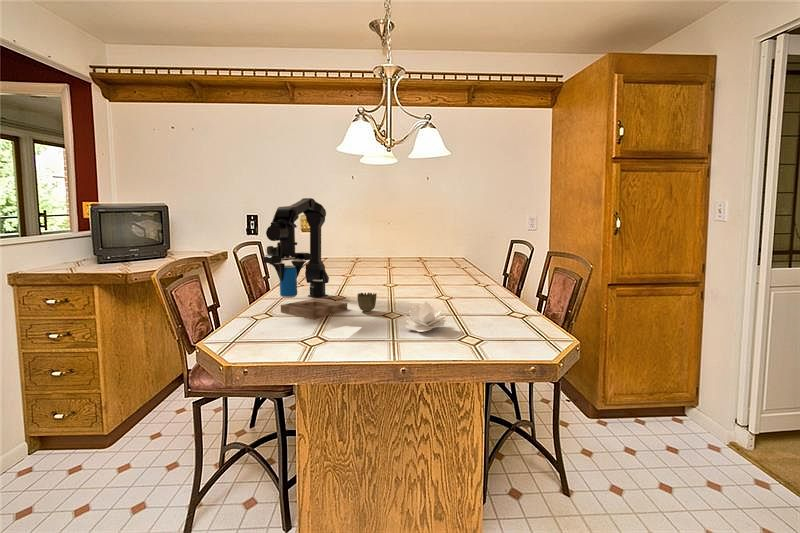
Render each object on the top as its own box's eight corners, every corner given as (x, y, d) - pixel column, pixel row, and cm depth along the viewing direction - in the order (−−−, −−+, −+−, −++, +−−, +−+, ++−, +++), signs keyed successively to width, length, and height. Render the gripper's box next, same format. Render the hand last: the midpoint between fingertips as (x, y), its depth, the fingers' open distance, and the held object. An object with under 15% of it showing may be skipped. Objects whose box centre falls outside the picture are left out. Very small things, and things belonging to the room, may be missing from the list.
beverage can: (294, 298, 169) (293, 267, 168) (278, 298, 169) (277, 267, 168) (299, 295, 175) (298, 265, 174) (283, 295, 176) (282, 265, 174)
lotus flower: (397, 331, 144) (397, 305, 143) (410, 321, 158) (411, 297, 157) (440, 335, 139) (440, 308, 138) (450, 324, 153) (450, 300, 153)
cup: (373, 316, 165) (373, 295, 164) (354, 315, 167) (354, 295, 166) (378, 312, 173) (378, 292, 172) (360, 311, 174) (360, 291, 173)
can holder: (315, 306, 185) (315, 298, 184) (347, 311, 174) (347, 303, 174) (280, 313, 170) (280, 304, 170) (313, 320, 160) (313, 310, 159)
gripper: (293, 238, 182) (294, 275, 184) (253, 240, 167) (255, 280, 169) (311, 239, 176) (312, 278, 177) (272, 241, 161) (273, 283, 162)
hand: (288, 279), depth 172 cm, fingers closed on beverage can, 6 cm apart
